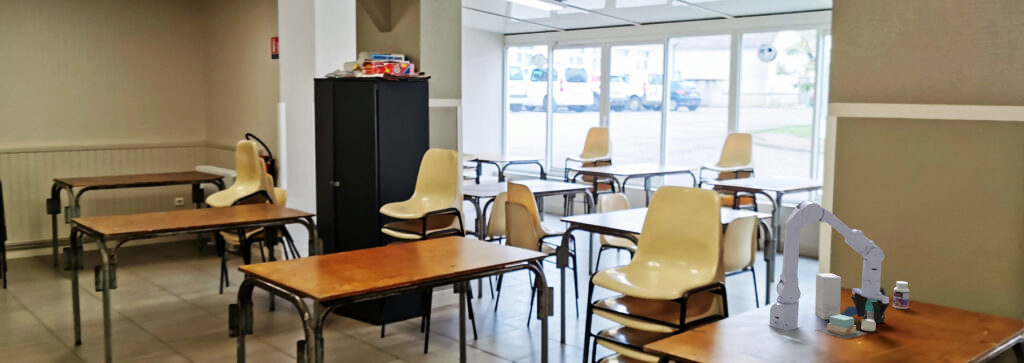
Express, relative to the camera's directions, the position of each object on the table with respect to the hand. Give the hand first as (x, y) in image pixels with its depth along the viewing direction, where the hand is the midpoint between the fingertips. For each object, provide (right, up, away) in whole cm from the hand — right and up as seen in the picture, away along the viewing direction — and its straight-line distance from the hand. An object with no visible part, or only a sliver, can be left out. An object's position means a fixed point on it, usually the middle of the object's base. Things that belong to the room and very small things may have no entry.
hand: (869, 319), depth 281 cm
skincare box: (-8, -2, +17) cm, 19 cm away
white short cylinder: (0, -4, 0) cm, 4 cm away
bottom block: (-11, -4, -4) cm, 12 cm away
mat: (-11, -4, -3) cm, 12 cm away
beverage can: (+7, -3, +13) cm, 15 cm away
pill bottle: (+27, -1, +34) cm, 43 cm away
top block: (-11, -1, -4) cm, 12 cm away
